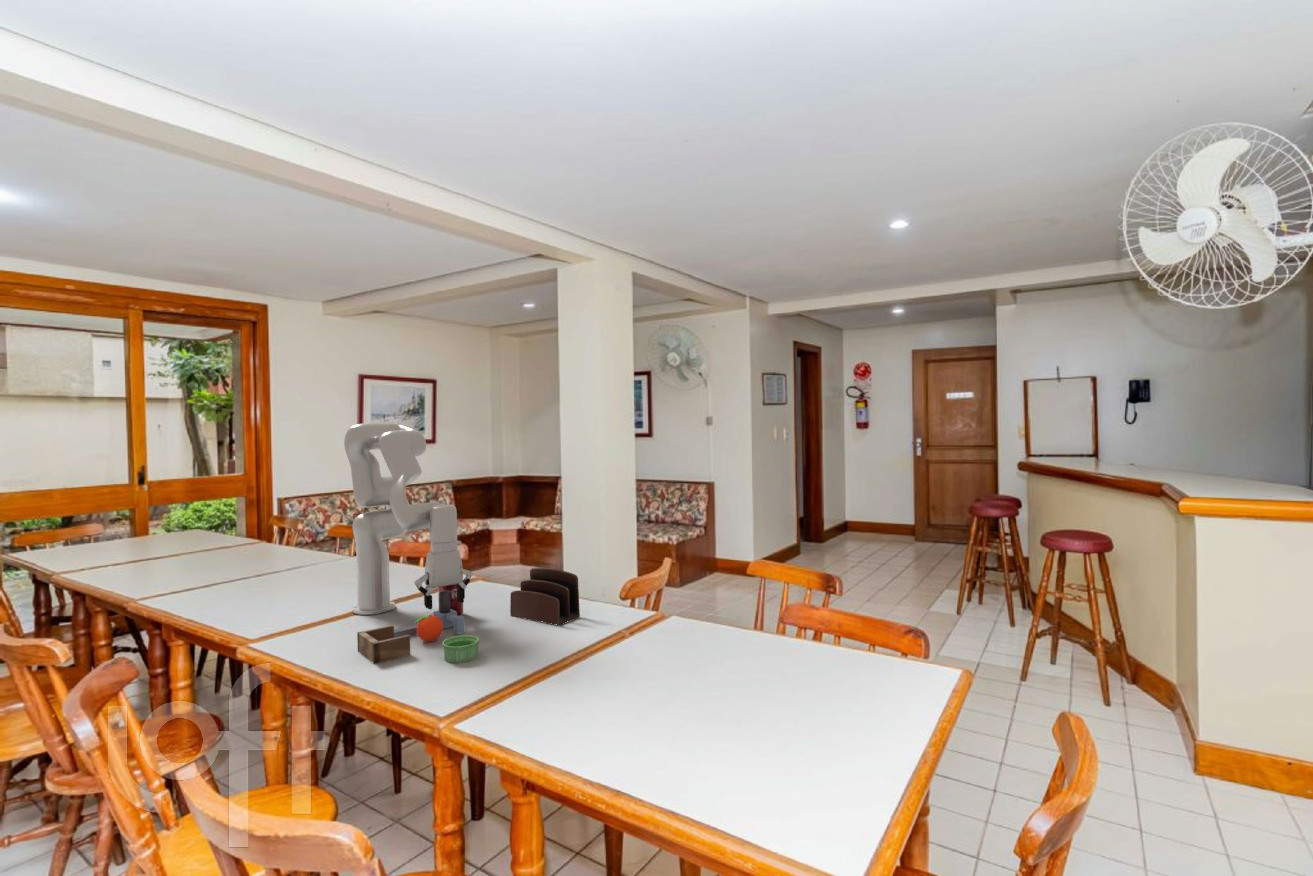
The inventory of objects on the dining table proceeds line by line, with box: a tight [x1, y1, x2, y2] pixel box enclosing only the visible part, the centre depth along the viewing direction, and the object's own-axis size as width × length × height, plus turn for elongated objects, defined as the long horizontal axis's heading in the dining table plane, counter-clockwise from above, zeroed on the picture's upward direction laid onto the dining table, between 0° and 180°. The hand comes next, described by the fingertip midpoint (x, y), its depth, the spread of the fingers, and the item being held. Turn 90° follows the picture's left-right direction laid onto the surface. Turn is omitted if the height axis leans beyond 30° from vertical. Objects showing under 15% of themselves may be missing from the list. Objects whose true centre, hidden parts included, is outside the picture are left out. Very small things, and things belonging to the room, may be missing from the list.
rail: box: [394, 623, 418, 638], centre depth 184 cm, size 3×22×2 cm, turn 133°
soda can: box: [437, 579, 464, 616], centre depth 200 cm, size 7×7×12 cm
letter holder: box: [509, 567, 581, 626], centre depth 198 cm, size 10×20×14 cm, turn 58°
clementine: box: [413, 614, 444, 642], centre depth 177 cm, size 8×7×7 cm
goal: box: [356, 624, 411, 665], centre depth 168 cm, size 12×9×5 cm
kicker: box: [432, 590, 465, 635], centre depth 186 cm, size 13×5×10 cm, turn 43°
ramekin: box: [442, 634, 480, 664], centre depth 164 cm, size 9×9×4 cm
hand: (444, 604), depth 189 cm, fingers open, 9 cm apart
